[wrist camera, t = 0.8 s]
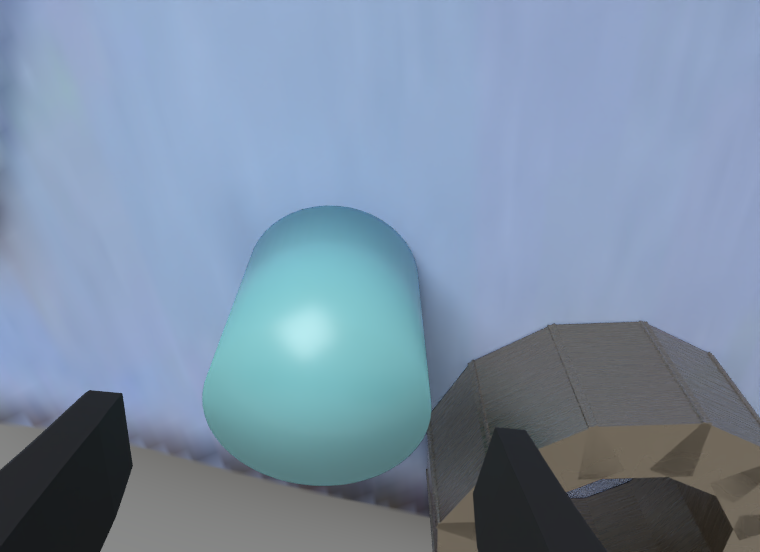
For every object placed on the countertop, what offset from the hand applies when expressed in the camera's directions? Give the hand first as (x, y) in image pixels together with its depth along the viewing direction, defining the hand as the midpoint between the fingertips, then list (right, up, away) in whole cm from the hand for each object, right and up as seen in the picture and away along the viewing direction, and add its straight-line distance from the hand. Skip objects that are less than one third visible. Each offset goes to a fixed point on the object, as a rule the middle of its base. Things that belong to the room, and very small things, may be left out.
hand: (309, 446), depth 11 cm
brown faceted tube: (+8, -2, +8) cm, 12 cm away
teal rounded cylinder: (0, +3, +5) cm, 6 cm away
